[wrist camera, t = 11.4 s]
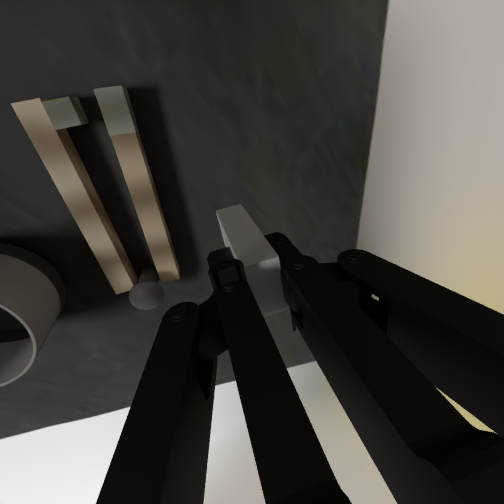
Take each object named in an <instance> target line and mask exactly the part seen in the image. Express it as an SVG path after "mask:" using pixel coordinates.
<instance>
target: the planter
mask: <svg viewBox="0 0 504 504" xmlns="http://www.w3.org/2000/svg"><path fill="white" fill-rule="evenodd" d="M65 300H66V289H65V285H64V282H63V280H62V278H61V276H60V275H59V273H58V272H57V271H56V269H55V268H54V267H53V266H52V265H51V264H49V263H48V262H47V261H46V260H44V259H43V258H41V257H40V256H38V255H36V254H34V253H33V252H30V251H28V250H26V249H23V248H20V247H17V246H13V245H9V244H3V243H0V387H2V386H5V385H7V384H9V383H11V382H13V381H15V380H16V379H18V378H19V377H21V376H22V375H23V374H25V373H26V372H27V371H28V369H29V368H30V367H31V366H32V364H33V362H34V361H35V359H36V357H37V355H38V353H39V351H40V349H41V348H42V346H43V344H44V342H45V340H46V338H47V336H48V335H49V333H50V331H51V329H52V327H53V325H54V323H55V322H56V320H57V318H58V316H59V314H60V312H61V310H62V309H63V307H64V304H65Z"/></svg>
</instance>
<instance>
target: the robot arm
mask: <svg viewBox="0 0 504 504" xmlns="http://www.w3.org/2000/svg"><path fill="white" fill-rule="evenodd" d="M216 213H217V217H218V220H219V224H220V228H221V232H222V235H223V239H224V243H225V246H226V248H223V249H219V250H216V251H212V252H210V253H209V255H208V258H207V260H208V264H209V268H210V269H209V273H208V274H209V277H210V280H211V283H212V286H213V289H214V292H213V294H212V295H211V297H210V298H209V299H208V300H206V301H205V302H203V303H202V304H200V305H197V304H196V303H193V302H183V303H179V304H177V305H175V306H173V307H171V308H170V309H169V310H168V311H167V312H166V313H165V315H164V316H163V318H162V321H161V324H160V327H159V329H158V332H157V335H156V338H155V341H154V343H153V346H152V349H151V352H150V355H149V357H148V360H147V363H146V366H145V368H144V371H143V374H142V377H141V380H140V382H139V385H138V388H137V391H136V394H135V396H134V399H133V402H132V405H131V407H130V410H129V413H128V416H127V419H126V421H125V424H124V427H123V430H122V433H121V435H120V438H119V441H118V444H117V447H116V449H115V452H114V455H113V458H112V461H111V463H110V466H109V469H108V471H107V474H106V477H105V480H104V483H103V486H102V488H101V491H100V494H99V497H98V499H97V502H96V504H203V501H204V492H205V482H206V472H207V462H208V461H207V460H208V452H209V451H208V450H209V442H210V431H211V421H212V411H213V401H214V391H215V381H216V371H217V361H218V360H217V356H218V355H220V354H221V353H223V352H224V351H226V350H227V349H228V350H229V354H230V358H231V363H232V367H233V371H234V375H235V379H236V383H237V387H238V391H239V396H240V399H241V404H242V408H243V412H244V416H245V420H246V424H247V428H248V432H249V437H250V441H251V445H252V448H253V453H254V457H255V461H256V465H257V469H258V474H259V478H260V481H261V486H262V490H263V494H264V498H265V503H266V504H352V503H351V501H350V500H349V498H348V497H347V496H346V494H345V493H344V492H343V491H342V490H341V488H340V486H339V484H338V482H337V480H336V478H335V476H334V474H333V471H332V469H331V467H330V465H329V463H328V461H327V458H326V456H325V454H324V451H323V449H322V447H321V445H320V442H319V440H318V438H317V436H316V433H315V431H314V429H313V427H312V424H311V422H310V420H309V418H308V416H307V413H306V411H305V409H304V407H303V405H302V402H301V400H300V398H299V395H298V393H297V391H296V389H295V386H294V384H293V382H292V380H291V378H290V375H289V373H288V371H287V369H286V366H285V364H284V362H283V360H282V357H281V355H280V353H279V351H278V348H277V346H276V344H275V342H274V340H273V337H272V335H271V333H270V331H269V328H268V326H267V324H266V322H265V319H264V317H267V316H270V315H273V314H276V313H279V312H282V311H285V310H287V306H286V302H287V304H288V305H289V307H290V313H291V319H292V326H293V330H294V331H295V330H296V326H297V328H298V330H299V331H300V333H301V335H302V337H303V338H304V340H305V342H306V344H307V345H308V347H309V349H310V351H311V353H312V354H313V356H314V358H315V360H316V361H317V363H318V365H319V367H320V368H321V370H322V371H323V374H324V375H325V377H326V379H327V381H328V382H329V384H330V386H331V388H332V389H333V391H334V393H335V395H336V396H337V398H338V400H339V402H340V403H341V405H342V407H343V409H344V410H345V412H346V414H347V416H348V417H349V419H350V421H351V423H352V424H353V426H354V428H355V430H356V431H357V433H358V435H359V437H360V439H361V440H362V442H363V444H364V445H365V447H366V449H367V451H368V453H369V454H370V456H371V458H372V459H373V461H374V463H375V465H376V466H377V468H378V470H379V472H380V473H381V475H382V477H383V479H384V481H385V482H386V484H387V486H388V488H389V489H390V491H391V493H392V495H393V496H394V498H395V500H396V502H397V504H504V315H503V314H501V313H499V312H497V311H495V310H493V309H491V308H488V307H486V306H484V305H482V304H480V303H478V302H475V301H473V300H471V299H469V298H467V297H465V296H462V295H460V294H458V293H456V292H454V291H452V290H449V289H447V288H445V287H443V286H441V285H439V284H436V283H434V282H432V281H430V280H428V279H426V278H423V277H421V276H419V275H417V274H415V273H413V272H411V271H408V270H406V269H404V268H402V267H400V266H397V265H395V264H393V263H391V262H389V261H387V260H385V259H382V258H380V257H378V256H376V255H374V254H372V253H369V252H367V251H364V250H359V249H352V250H346V251H343V252H342V253H340V254H339V255H338V257H337V262H333V263H318V262H317V261H316V260H315V259H314V258H312V257H310V256H306V255H302V254H301V253H300V252H299V250H298V249H297V248H296V247H295V246H294V245H293V244H292V243H291V241H290V240H289V239H288V238H287V237H286V236H285V235H284V234H281V233H279V232H275V233H272V234H268V235H265V236H264V235H263V234H262V233H261V231H260V230H259V229H258V227H257V226H256V224H255V223H254V222H253V220H252V219H251V217H250V216H249V215H248V213H247V212H246V211H245V209H244V208H243V206H242V205H241V204H239V205H235V206H231V207H228V208H224V209H220V210H217V211H216ZM372 294H374V295H375V296H377V297H379V301H378V300H375V299H374V298H372ZM295 325H296V326H295ZM436 387H437V388H438V389H439V390H441V391H442V392H443V393H444V394H446V395H447V396H448V397H450V398H451V399H452V400H454V401H455V402H456V403H458V404H459V405H460V406H461V407H463V408H464V409H465V410H467V411H468V412H469V413H471V414H472V415H473V416H475V417H476V418H477V419H479V420H480V421H481V422H482V423H484V424H485V425H486V426H488V427H489V428H490V429H492V430H493V431H494V432H496V433H497V434H498V435H497V434H496V433H494V432H488V431H482V430H479V429H477V428H475V427H474V426H472V425H471V424H470V423H469V422H468V421H467V420H466V419H465V418H464V417H463V416H462V415H461V414H460V413H459V412H458V411H457V410H456V409H455V408H454V406H453V405H452V404H450V402H449V401H448V400H447V399H446V398H445V397H444V396H443V395H442V394H441V393H440V392H439V391H438V389H436Z"/></svg>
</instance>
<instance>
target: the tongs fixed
mask: <svg viewBox="0 0 504 504" xmlns="http://www.w3.org/2000/svg"><path fill="white" fill-rule="evenodd" d="M11 105H12V107H13V109H14V110H15V112H16V114H17V116H18V118H19V119H20V121H21V123H22V125H23V127H24V128H25V130H26V132H27V134H28V136H29V137H30V139H31V141H32V143H33V145H34V147H35V148H36V150H37V152H38V154H39V156H40V157H41V159H42V161H43V163H44V165H45V166H46V168H47V170H48V172H49V174H50V175H51V177H52V179H53V181H54V183H55V185H56V186H57V188H58V190H59V192H60V194H61V195H62V197H63V199H64V201H65V203H66V204H67V206H68V208H69V210H70V212H71V213H72V215H73V217H74V219H75V221H76V223H77V224H78V226H79V228H80V230H81V232H82V233H83V235H84V237H85V239H86V241H87V242H88V244H89V246H90V248H91V250H92V251H93V253H94V255H95V257H96V259H97V261H98V262H99V264H100V266H101V268H102V270H103V271H104V273H105V275H106V277H107V279H108V280H109V282H110V284H111V286H112V288H113V289H114V291H115V293H116V294H120V293H123V292H127V291H130V293H129V300H130V302H131V304H132V305H133V306H135V307H136V308H138V309H142V310H150V309H154V308H156V307H158V306H159V305H160V304H161V303H162V301H163V299H164V291H163V288H162V287H161V286H160V285H159V284H158V277H159V275H158V272H157V269H156V268H155V267H154V266H146V267H144V268H142V270H141V272H140V278H139V282H138V283H136V282H137V275H136V273H135V271H134V269H133V267H132V264H131V262H130V260H129V258H128V256H127V254H126V252H125V250H124V248H123V246H122V244H121V242H120V240H119V238H118V235H117V233H116V231H115V229H114V227H113V225H112V223H111V221H110V219H109V217H108V215H107V213H106V211H105V209H104V206H103V204H102V202H101V200H100V198H99V196H98V194H97V192H96V190H95V188H94V186H93V184H92V182H91V180H90V177H89V175H88V173H87V171H86V169H85V167H84V165H83V163H82V161H81V159H80V157H79V155H78V153H77V151H76V148H75V146H74V144H73V142H72V140H71V138H70V136H69V134H68V132H67V130H66V128H69V127H73V126H78V125H83V124H87V123H89V121H88V119H87V117H86V114H85V112H84V110H83V108H82V105H81V103H80V101H79V98H78V97H70V96H68V97H63V98H58V99H53V100H52V99H44V98H37V99H32V100H27V101H22V102H17V103H12V104H11Z"/></svg>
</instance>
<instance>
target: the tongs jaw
mask: <svg viewBox="0 0 504 504" xmlns="http://www.w3.org/2000/svg"><path fill="white" fill-rule="evenodd" d="M94 92H95V95H96V98H97V101H98V104H99V107H100V110H101V112H102V115H103V118H104V121H105V124H106V127H107V130H108V133H109V136H111V139H112V142H113V145H114V148H115V151H116V154H117V157H118V160H119V162H120V165H121V168H122V171H123V174H124V177H125V180H126V183H127V186H128V188H129V191H130V194H131V197H132V200H133V203H134V206H135V209H136V212H137V214H138V217H139V220H140V223H141V226H142V229H143V232H144V235H145V238H146V240H147V243H148V246H149V249H150V252H151V255H152V258H153V261H154V263H155V266H156V269H157V272H158V275H159V278H160V281H161V283H164V282H168V281H172V280H176V279H180V274H179V265H178V262H177V259H176V255H175V252H174V248H173V245H172V242H171V238H170V235H169V232H168V228H167V225H166V221H165V218H164V215H163V211H162V208H161V205H160V201H159V198H158V195H157V191H156V188H155V184H154V181H153V178H152V174H151V171H150V168H149V164H148V161H147V158H146V154H145V151H144V147H143V144H142V141H141V137H140V134H139V131H138V130H139V129H138V125H137V122H136V119H135V115H134V112H133V109H132V105H131V102H130V98H129V95H128V92H127V88H126V87H124V86H115V87H107V88H99V89H94Z"/></svg>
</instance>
